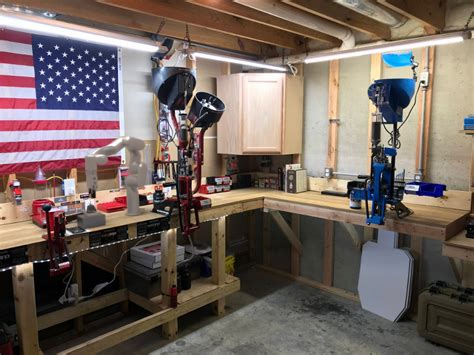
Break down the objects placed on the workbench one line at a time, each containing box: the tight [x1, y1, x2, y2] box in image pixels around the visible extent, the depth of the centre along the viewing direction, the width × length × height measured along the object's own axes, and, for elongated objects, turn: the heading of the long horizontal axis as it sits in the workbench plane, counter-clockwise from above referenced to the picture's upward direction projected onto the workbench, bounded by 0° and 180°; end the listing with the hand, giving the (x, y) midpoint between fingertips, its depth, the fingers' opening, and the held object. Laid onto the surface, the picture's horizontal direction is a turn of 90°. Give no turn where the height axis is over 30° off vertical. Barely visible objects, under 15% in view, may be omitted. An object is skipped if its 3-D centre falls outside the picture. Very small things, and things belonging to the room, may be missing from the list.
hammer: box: [65, 204, 98, 224], centre depth 285 cm, size 5×11×30 cm
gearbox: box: [76, 211, 107, 230], centre depth 273 cm, size 16×12×10 cm
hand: (92, 197), depth 272 cm, fingers closed on bead, 3 cm apart
